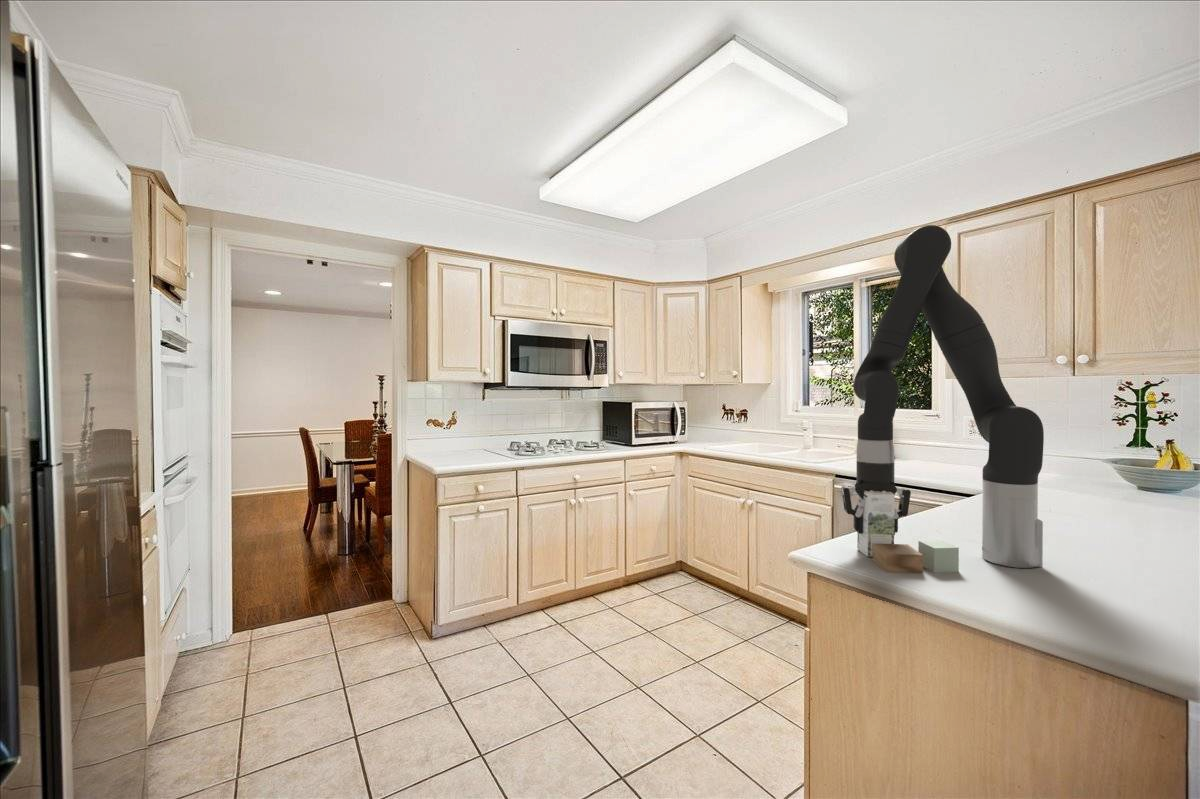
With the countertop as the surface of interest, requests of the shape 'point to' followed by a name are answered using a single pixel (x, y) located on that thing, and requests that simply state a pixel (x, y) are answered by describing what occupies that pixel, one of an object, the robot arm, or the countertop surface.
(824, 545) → the countertop surface
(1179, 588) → the countertop surface
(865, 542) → the syrup box
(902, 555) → the walnut block
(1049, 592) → the countertop surface
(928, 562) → the grey-green cube
